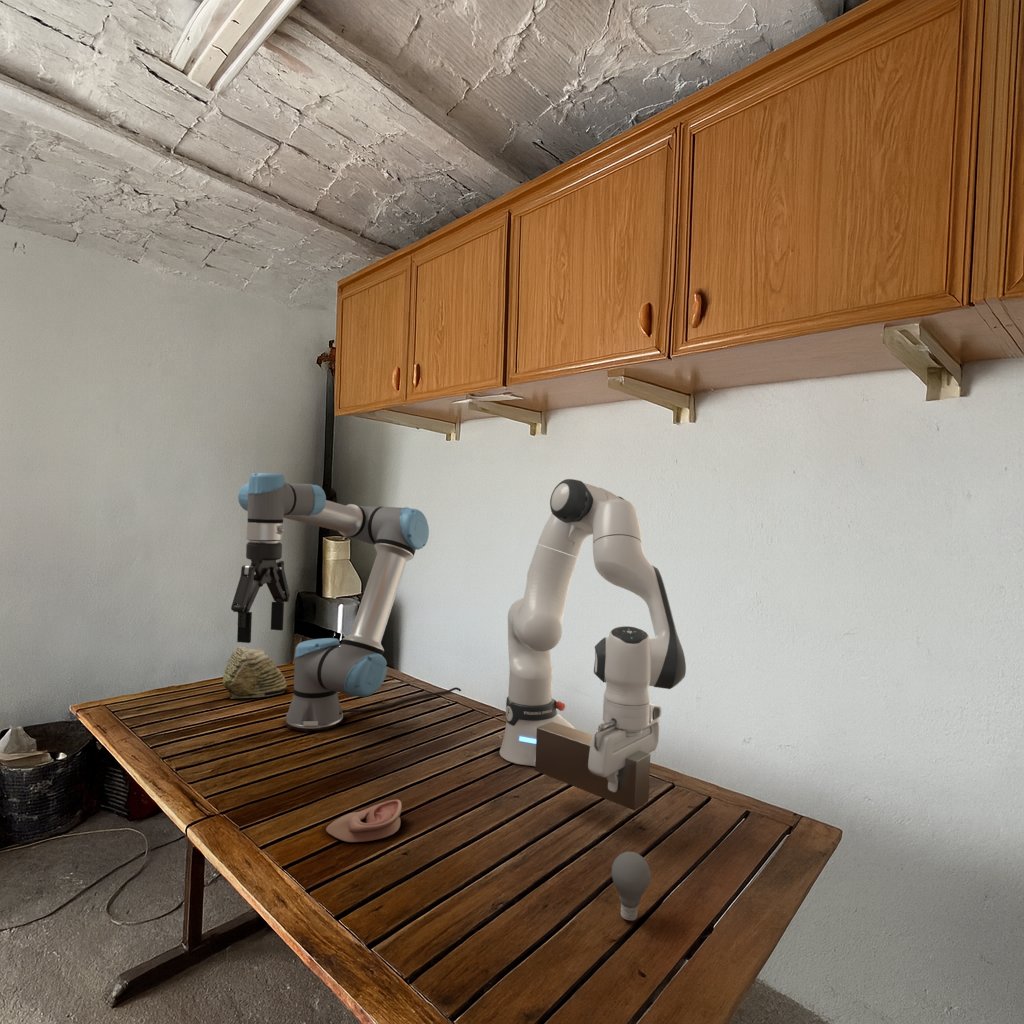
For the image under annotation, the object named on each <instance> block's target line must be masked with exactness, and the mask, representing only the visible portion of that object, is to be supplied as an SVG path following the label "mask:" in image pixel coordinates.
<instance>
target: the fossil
mask: <svg viewBox="0 0 1024 1024" xmlns="http://www.w3.org/2000/svg"><path fill="white" fill-rule="evenodd" d="M222 676H223V677H222V685H223V687H224V688H225V690H226V691H228V693H229V698H230V699H250V698H264V697H271V696H275V695H281V694H284V693H285V691H286V689H287V687H288V686H287V680H286V678H285V676H284V674H283V673H282V672H281V669H279V668H278V667H277V665H276V663H275V662H274V660H273V659H272V658H271V657H270V656H269V655H268V654H267V653H266V652H265V650H264V649H263V648H260V647H258V648H251V647H247V646H246V647H245V646H238V647H237V648H236V649H235V650H233V651H232V653H231V656H230V657H229V659H228V660H227V663H226V666H225V668H224V671H223V675H222Z"/></svg>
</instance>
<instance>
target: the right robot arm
mask: <svg viewBox="0 0 1024 1024" xmlns="http://www.w3.org/2000/svg"><path fill="white" fill-rule="evenodd" d="M549 506H550V508H549V509H550V512H551V513H550V516H549V517H548V519H547V521H546V522H545V524H544V526H543V529H542V531H541V533H540V536H539V538H538V540H537V544H536V546H535V550H534V553H533V556H532V559H531V561H530V564H529V567H528V570H527V574H526V582H525V583H526V584H525V589H524V595H523V598H520V599H517V600H515V601H514V602H513V603H512V604H511V605H510V607H509V609H508V611H507V641H508V642H507V645H508V662H509V664H508V665H509V668H508V669H509V670H508V671H509V674H508V696H507V697H506V701H505V722H506V723H505V729H504V733H503V738H502V742H501V745H500V749H499V751H498V752H499V755H500V757H501V758H502V759H504V760H505V761H508V762H509V763H512V764H516V765H523V766H530V767H535V760H536V735H537V727H539V726H542V725H544V724H547V723H550V722H554V723H557V724H560V725H564V726H567V727H570V728H573V729H576V728H575V727H574V726H573V724H571V723H570V722H569V721H568V720H567V719H565V718H564V717H563V716H562V715H560V714H559V713H558V711H560V712H563V711H565V709H566V704H565V703H564V702H562V701H561V700H558V701H557V700H556V699H554V698H553V678H554V668H553V667H554V666H553V662H552V655H551V654H552V653H551V650H552V649H554V648H555V647H556V646H558V644H559V643H560V642H561V639H562V636H563V621H564V617H565V611H566V605H567V598H568V593H569V589H570V584H571V582H572V579H573V576H574V573H575V570H576V566H577V564H578V561H579V557H580V555H581V551H582V547H583V545H584V543H585V541H586V539H587V538H588V537H590V536H592V557H593V564H594V568H595V570H596V571H597V573H598V574H599V576H600V577H602V578H603V579H604V580H605V581H607V582H608V583H609V584H612V585H614V586H616V587H618V588H621V589H624V590H627V591H629V592H631V593H633V594H635V595H637V596H638V597H639V598H641V599H642V600H643V601H644V602H645V604H646V606H647V608H648V612H649V617H650V620H651V621H650V622H651V625H652V628H653V633H654V637H650V635H649V634H648V633H647V631H645V630H643V629H641V628H637V627H635V626H625V625H624V626H617V627H615V628H613V629H611V630H610V631H609V634H608V636H606V637H603V638H601V640H599V641H598V642H597V644H595V645H594V657H595V658H594V666H593V674H594V675H595V677H597V678H598V679H599V681H601V682H602V683H605V689H604V693H603V703H602V705H603V706H602V721H603V722H602V723H600V724H598V726H597V727H598V728H597V729H596V731H594V732H593V734H592V735H593V736H592V739H591V744H590V751H589V760H588V768H589V770H590V772H591V773H593V774H595V775H597V776H600V777H607V780H608V789H609V790H610V791H612V792H616V791H618V790H619V789H620V781H618V779H617V775H618V770H620V769H621V768H623V767H625V761H626V757H628V756H630V755H632V754H634V753H636V752H637V751H639V750H640V751H643V752H646V753H649V754H651V753H652V752H654V751H656V749H657V748H658V745H659V739H660V738H659V737H660V727H661V725H660V718H661V717H662V712H663V711H662V706H660V705H657V704H654V703H651V695H650V691H649V689H650V688H649V687H654V688H659V689H666V690H672V689H673V688H675V687H677V686H678V684H680V683H681V682H682V681H683V679H685V677H686V673H687V661H686V655H685V652H684V649H683V646H682V644H681V641H680V638H679V635H678V632H677V629H676V625H675V621H674V616H673V612H672V609H671V605H670V601H669V597H668V593H667V589H666V586H665V582H664V580H663V577H662V575H661V572H660V570H659V568H658V567H656V566H655V565H653V564H651V562H650V561H649V560H648V558H647V556H646V554H645V551H644V548H643V536H642V529H641V523H640V518H639V515H638V511H637V508H636V506H635V505H634V504H633V503H631V501H629V500H627V499H625V498H623V497H622V496H617V495H616V494H614V493H613V492H611V491H609V490H607V489H605V488H602V487H598V486H596V485H592V484H589V483H585V482H583V481H582V480H578V479H573V478H565V479H563V480H561V481H560V482H559V483H558V484H556V486H555V487H554V489H553V491H552V493H551V495H550V500H549Z"/></svg>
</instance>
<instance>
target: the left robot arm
mask: <svg viewBox="0 0 1024 1024" xmlns="http://www.w3.org/2000/svg"><path fill="white" fill-rule="evenodd" d="M285 478H286V477H285V475H284V474H282V473H273V472H253V473H251V474H250V475H249V480H248V482H246V483H245V484H243V485H242V486H241V487H240V489H239V491H238V496H237V498H238V499H237V500H238V503H239V506H240V507H241V508H242V509H243V510H244V511H246V512H247V523H246V540H247V541H248V542H247V543H246V544H245V546H246V547H245V558H246V559H247V560H250V561H251V562H250V565H244V564H243V565H241V568H240V570H241V571H240V578H239V580H238V583H237V587H236V590H235V593H234V596H233V600H232V603H231V607H230V609H231V610H230V611H232V612H234V613H237V634H236V635H237V637H236V640H237V641H236V643H244V644H250V643H251V642H252V624H253V623H252V622H253V621H252V620H253V612H252V611H250V610H251V608H252V606H253V604H254V602H255V599H256V597H257V595H258V592H259V591H260V588H261V587H263V586H264V585H265V584H266V585H267V586H266V587H267V588H268V591H269V593H270V595H271V597H272V600H273V601H271V608H270V610H271V612H270V613H271V614H270V630H271V631H272V630H273V631H284V616H285V615H284V614H285V603H288V602H289V601H290V595H291V593H290V589H289V585H288V584H289V583H288V580H287V575H286V572H285V561H284V560H281V559H283V558H282V557H283V544H282V542H280V541H282V540H283V532H284V531H285V530H284V519H287V520H291V521H296V522H300V523H302V524H307V525H311V526H316V527H320V528H325V529H329V530H332V531H336V532H338V533H339V534H340V535H342V536H343V537H346V538H350V539H354V540H357V541H359V542H363V543H367V544H370V545H373V547H374V549H375V551H376V556H375V559H374V562H373V565H372V568H371V570H370V573H369V577H368V580H367V583H366V586H365V589H364V592H363V595H362V598H361V600H360V604H359V607H358V610H357V612H356V616H355V619H354V622H353V625H352V627H351V630H350V634H348V635H347V636H344V637H343V638H342V639H341V643H340V640H339V639H338V638H335V637H326V638H325V637H324V638H323V637H322V638H313V639H308V640H304V641H302V642H299V643H298V644H297V645H296V647H295V652H294V653H295V654H294V657H293V659H294V660H293V662H294V663H293V665H294V666H293V695H292V696H293V697H292V699H291V702H290V704H289V708H288V711H287V713H286V715H285V726H286V728H287V729H289V730H291V731H294V732H295V731H296V732H301V733H316V732H325V731H329V730H332V729H335V728H337V727H339V726H340V725H342V723H343V722H344V713H363V712H369V711H376V710H380V709H385V708H388V707H389V708H390V707H393V706H396V705H398V704H402V703H405V702H408V701H409V702H410V701H413V700H416V699H417V700H418V699H420V698H426V697H430V696H431V697H432V696H437V695H443V694H448V693H451V692H453V691H455V690H457V692H462V689H461V688H460V687H453V688H450V689H448V690H447V689H446V690H443V691H436V692H431V693H430V692H429V693H423V694H420V695H416V696H410V697H407V698H404V699H400V700H397V701H393V702H391V703H387V704H384V705H379V706H374V707H369V708H362V709H361V708H360V709H342V706H341V702H340V699H339V695H338V693H340V694H344V695H347V696H350V697H358V698H367V697H370V696H372V695H373V694H374V693H376V692H377V691H378V690H379V689H380V688H381V687H382V685H383V683H384V681H385V679H386V676H387V674H388V673H387V672H388V666H387V665H388V663H387V660H386V658H385V657H384V656H383V655H384V652H385V649H384V647H383V645H382V641H383V637H384V635H385V631H386V627H387V625H388V621H389V618H390V615H391V611H392V608H393V605H394V602H395V599H396V595H397V593H398V591H399V587H400V584H401V580H402V577H403V574H404V572H405V568H406V564H407V562H409V561H411V560H413V559H414V557H415V554H416V551H418V550H421V549H423V548H424V547H425V546H426V545H427V543H428V540H429V536H430V527H429V524H428V519H427V517H426V515H425V514H424V513H423V511H421V510H419V509H418V508H411V507H407V506H405V507H398V506H396V507H395V506H379V505H378V506H373V505H372V506H371V505H367V506H366V505H357V504H353V503H348V504H346V505H345V504H342V503H338V502H334V501H332V500H329V499H328V500H327V496H326V493H325V490H324V489H323V488H322V486H320V485H318V484H311V483H291V482H290V483H289V482H286V479H285Z"/></svg>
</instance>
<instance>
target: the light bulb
mask: <svg viewBox="0 0 1024 1024" xmlns="http://www.w3.org/2000/svg"><path fill="white" fill-rule="evenodd" d="M651 875H652V874H651V869H650V867H649V864H648V862H647V861H646V859H645V858H644V857H643V856H642V855H640V854H639V853H637V852H634V851H624V852H622V853H620V854H618V856H616V857H615V859H614V860H613V863H612V865H611V877H612V878H611V879H612V882H613V885H614V886H615V888H616V890H617V892H618V897H619V902H620V916H621V917H622V918H623V919H624V920H627V921H635V920H637V919H638V909H639V907H638V906H639V905H640V903H641V899H642V897H643V895H644V893H645V892H646V890H647V889H648V888H649V885H650V883H651V877H652V876H651Z"/></svg>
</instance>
